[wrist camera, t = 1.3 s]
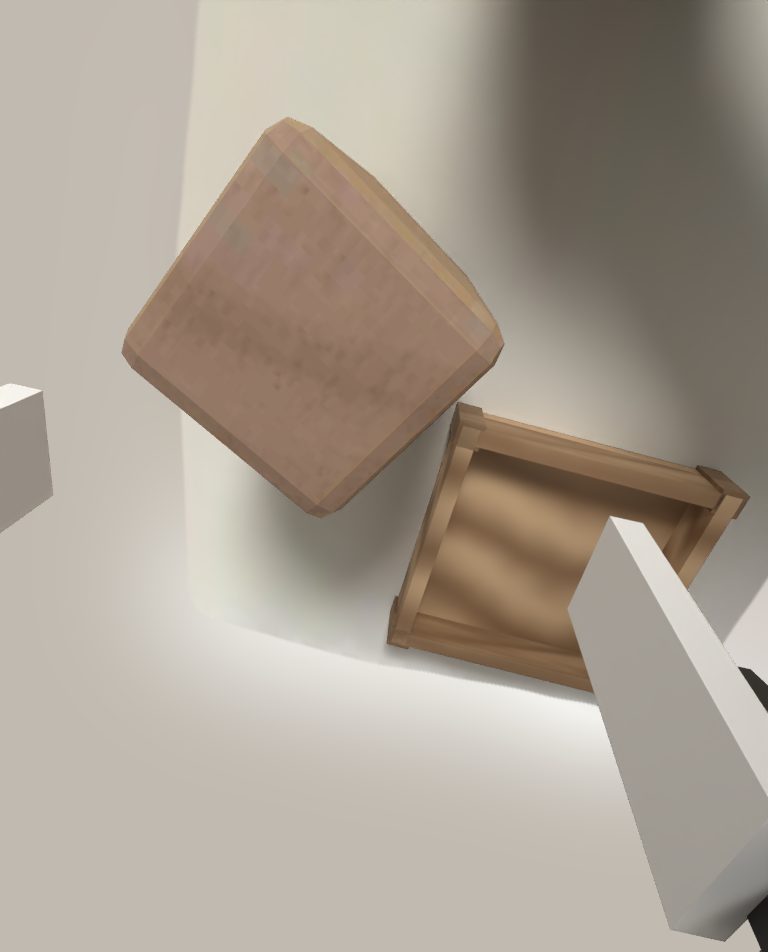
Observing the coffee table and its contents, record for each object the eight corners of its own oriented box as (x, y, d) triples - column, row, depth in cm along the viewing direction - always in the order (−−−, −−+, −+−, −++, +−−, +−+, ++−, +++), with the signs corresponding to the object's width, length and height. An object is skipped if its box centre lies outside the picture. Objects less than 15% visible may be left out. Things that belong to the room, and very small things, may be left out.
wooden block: (373, 390, 38) (319, 537, 20) (265, 290, 36) (98, 355, 18) (475, 285, 35) (521, 350, 17) (364, 165, 32) (276, 91, 14)
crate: (457, 401, 38) (460, 420, 35) (720, 471, 39) (750, 496, 35) (390, 611, 47) (386, 643, 43) (605, 666, 47) (620, 702, 44)
